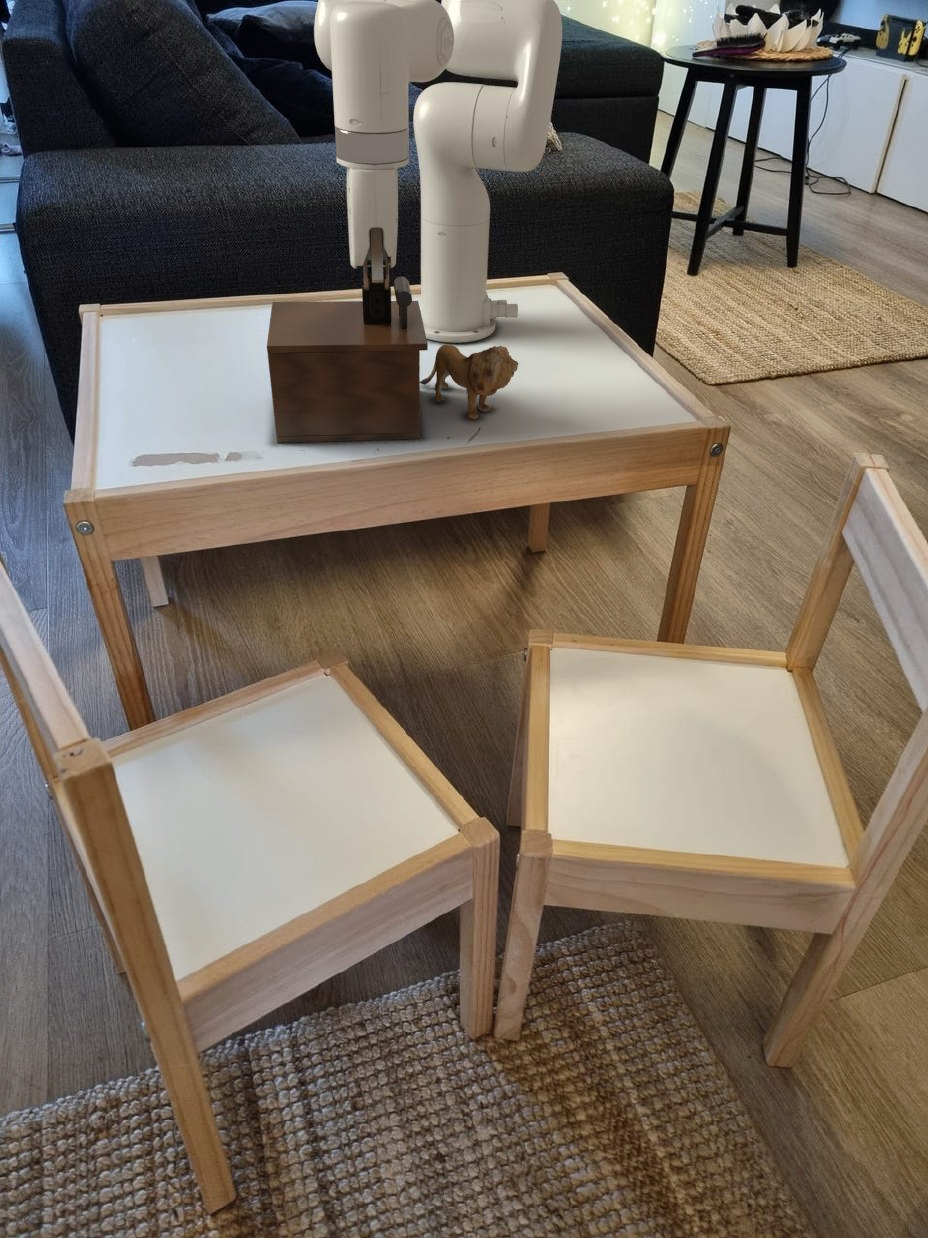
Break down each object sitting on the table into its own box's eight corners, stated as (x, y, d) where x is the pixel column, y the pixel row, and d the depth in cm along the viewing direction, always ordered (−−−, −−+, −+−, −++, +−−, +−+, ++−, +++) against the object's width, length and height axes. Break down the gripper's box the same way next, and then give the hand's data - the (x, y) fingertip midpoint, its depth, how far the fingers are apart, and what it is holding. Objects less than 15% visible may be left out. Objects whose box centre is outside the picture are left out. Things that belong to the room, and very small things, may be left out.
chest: (411, 389, 119) (410, 306, 112) (419, 438, 108) (419, 350, 102) (281, 392, 117) (273, 308, 110) (277, 442, 107) (267, 353, 100)
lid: (418, 306, 112) (418, 264, 109) (427, 350, 102) (428, 304, 99) (272, 308, 110) (268, 264, 107) (267, 353, 100) (262, 306, 97)
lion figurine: (521, 415, 114) (526, 345, 108) (494, 429, 111) (498, 358, 105) (433, 380, 121) (433, 313, 116) (405, 393, 118) (404, 324, 112)
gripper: (335, 131, 100) (343, 299, 111) (336, 162, 88) (345, 347, 100) (404, 131, 101) (405, 299, 112) (414, 163, 89) (414, 346, 101)
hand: (377, 321), depth 106 cm, fingers closed
